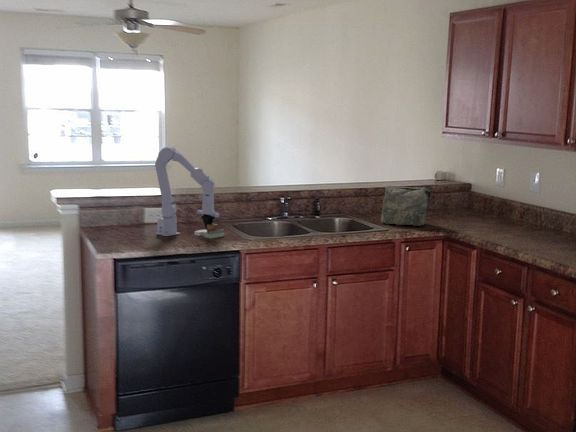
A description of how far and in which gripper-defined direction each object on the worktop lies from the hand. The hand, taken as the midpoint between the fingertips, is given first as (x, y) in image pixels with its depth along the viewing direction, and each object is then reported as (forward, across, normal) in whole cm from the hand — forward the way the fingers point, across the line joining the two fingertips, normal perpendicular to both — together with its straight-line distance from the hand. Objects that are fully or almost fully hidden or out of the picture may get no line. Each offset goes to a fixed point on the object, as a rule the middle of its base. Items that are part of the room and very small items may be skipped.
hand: (208, 229), depth 336 cm
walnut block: (+1, -3, 0) cm, 4 cm away
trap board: (+3, -1, 0) cm, 3 cm away
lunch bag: (+3, -48, -108) cm, 119 cm away
